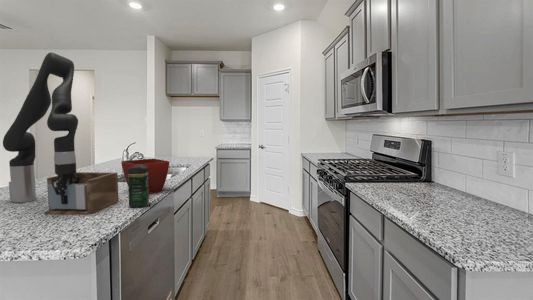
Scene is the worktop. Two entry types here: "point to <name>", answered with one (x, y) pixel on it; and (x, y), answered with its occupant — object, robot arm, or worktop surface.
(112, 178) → the open wooden box
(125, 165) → the plant pot
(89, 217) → the worktop surface
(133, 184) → the coffee jar
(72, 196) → the grey rectangular block
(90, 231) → the worktop surface
